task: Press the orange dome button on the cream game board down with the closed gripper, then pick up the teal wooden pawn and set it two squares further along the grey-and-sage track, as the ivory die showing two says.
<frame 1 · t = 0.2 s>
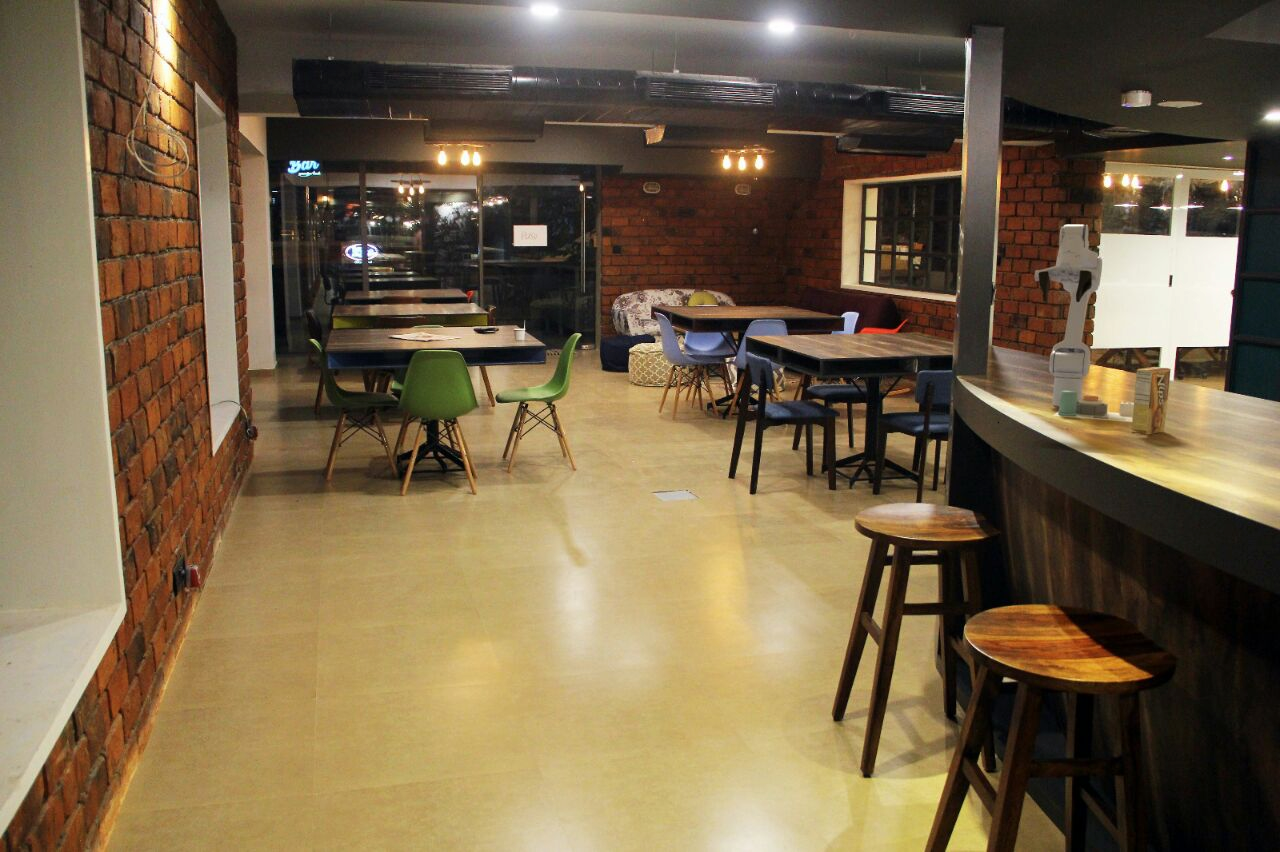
hand: (1060, 299, 266), 31 cm above the countertop, tool tilted 45°, fingers open, 7 cm apart
dome button: (1090, 400, 279), point 4 cm above the countertop, slide at 0.0 cm
candy box: (1148, 433, 257), on the countertop
game board: (1102, 419, 276), on the countertop
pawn: (1067, 414, 277), point 1 cm above the countertop, touching game board
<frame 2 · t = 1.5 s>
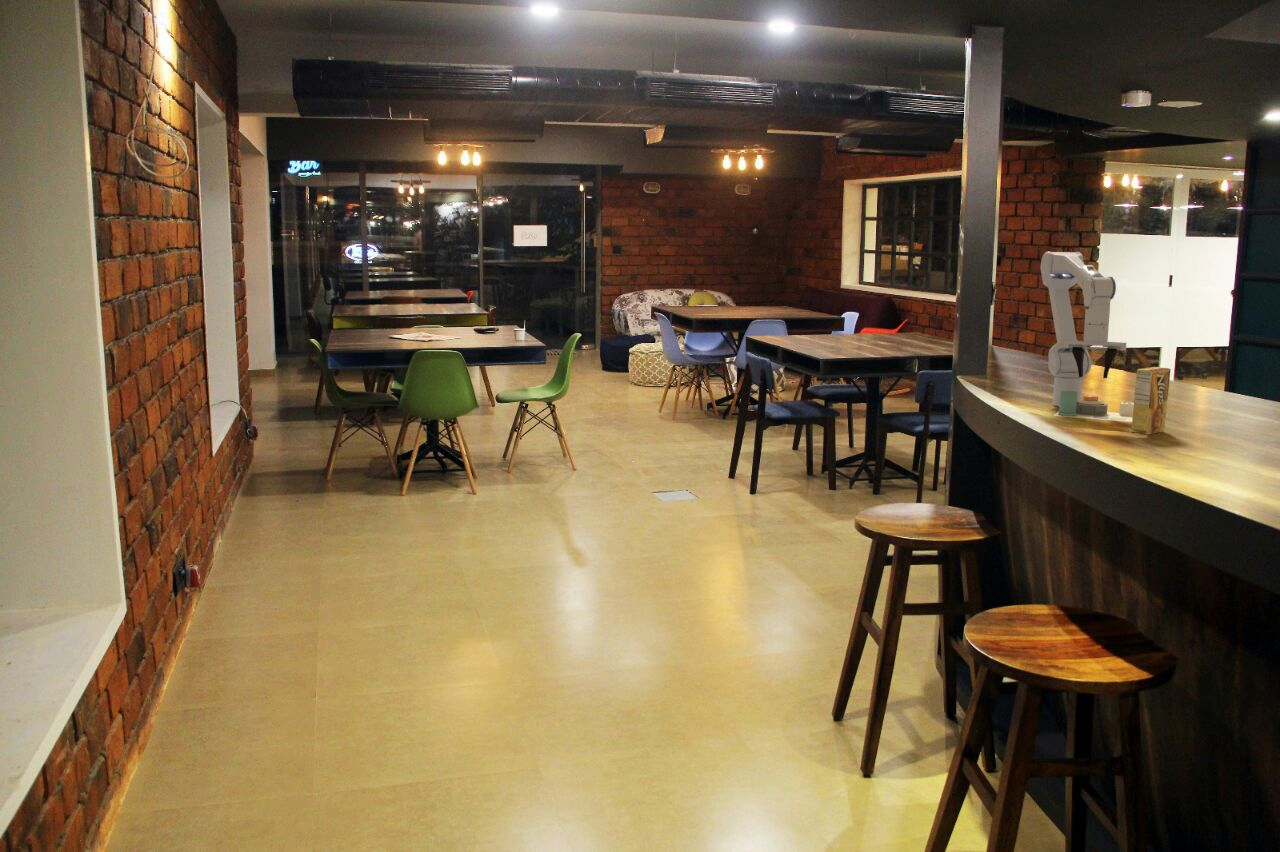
hand: (1092, 377, 278), 10 cm above the countertop, tool pointing down, fingers open, 5 cm apart
nothing on the countertop moved.
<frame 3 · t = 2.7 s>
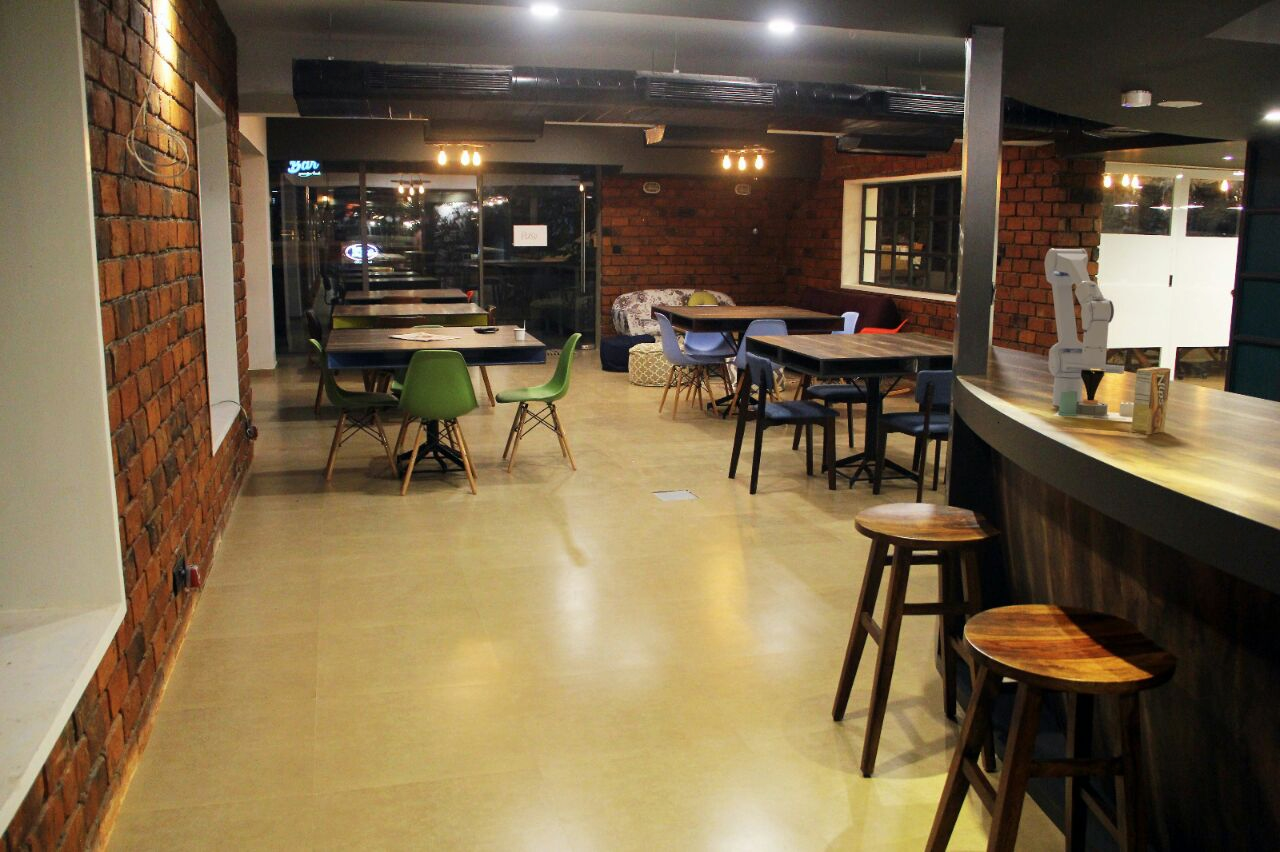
hand: (1090, 400, 279), 4 cm above the countertop, tool pointing down, fingers closed, pressing on dome button
dome button: (1090, 404, 280), point 3 cm above the countertop, slide at -0.9 cm, touching gripper
everything else where it was.
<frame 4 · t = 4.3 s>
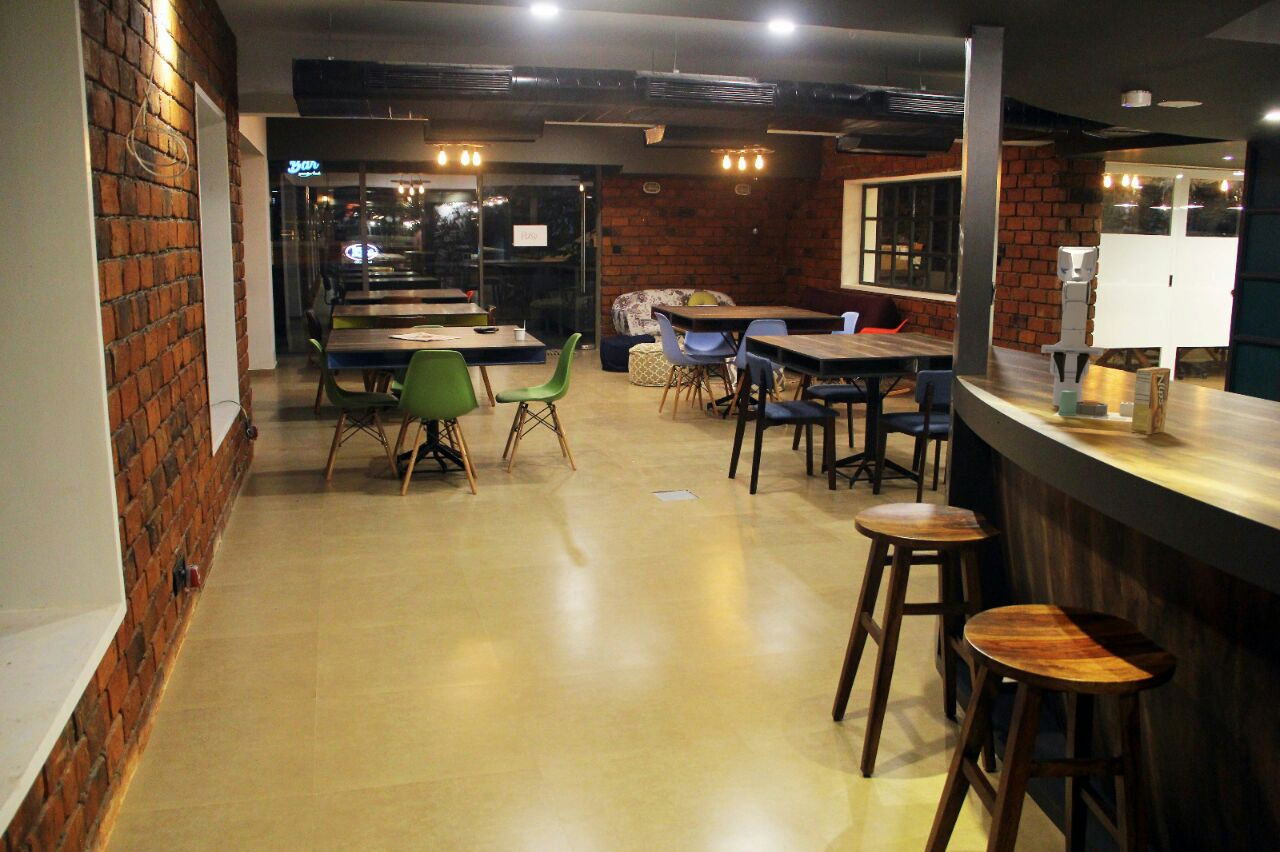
hand: (1069, 382, 275), 9 cm above the countertop, tool pointing down, fingers open, 3 cm apart
dome button: (1090, 405, 280), point 3 cm above the countertop, slide at -1.2 cm
everything else where it was.
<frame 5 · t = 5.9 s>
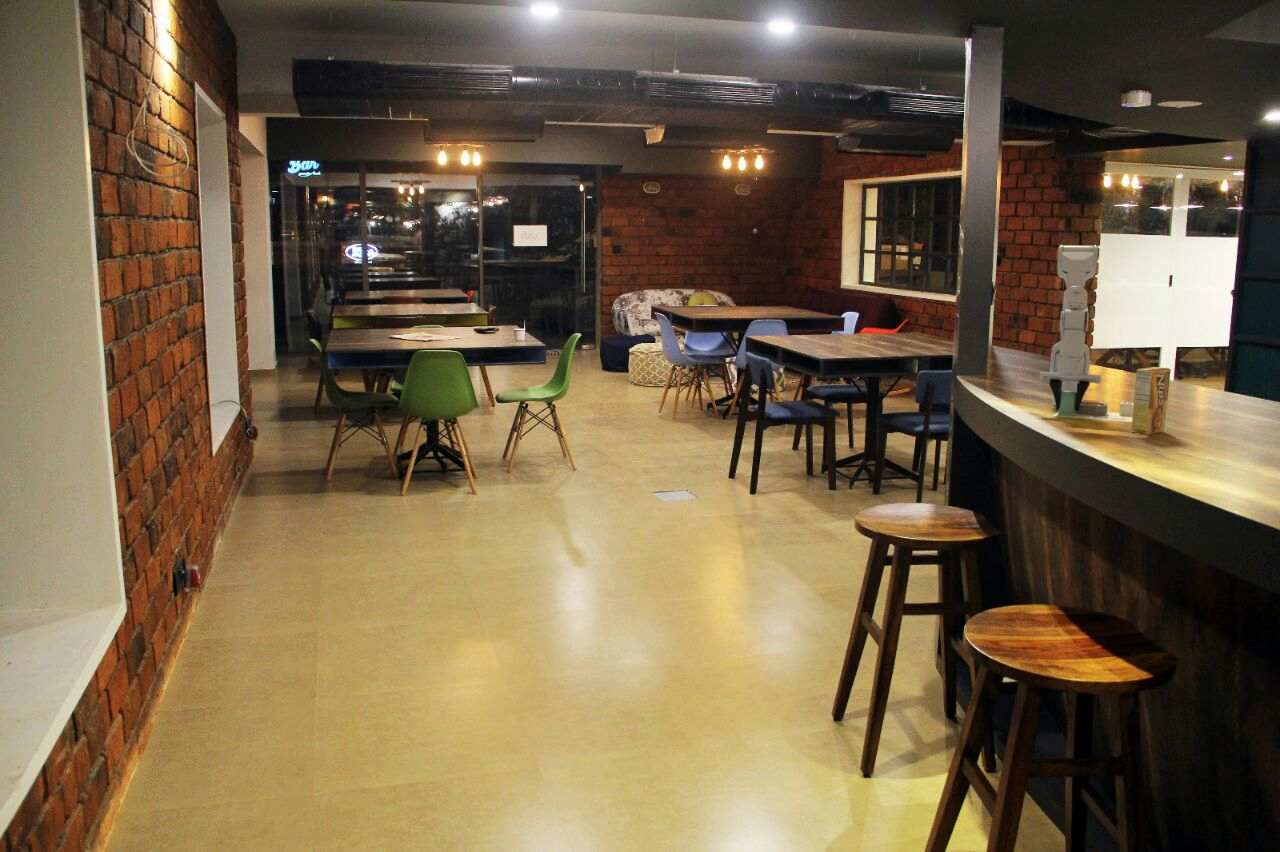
hand: (1067, 409, 276), 2 cm above the countertop, tool pointing down, fingers closed on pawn, 4 cm apart
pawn: (1067, 414, 277), point 1 cm above the countertop, touching game board, gripper
everything else where it was.
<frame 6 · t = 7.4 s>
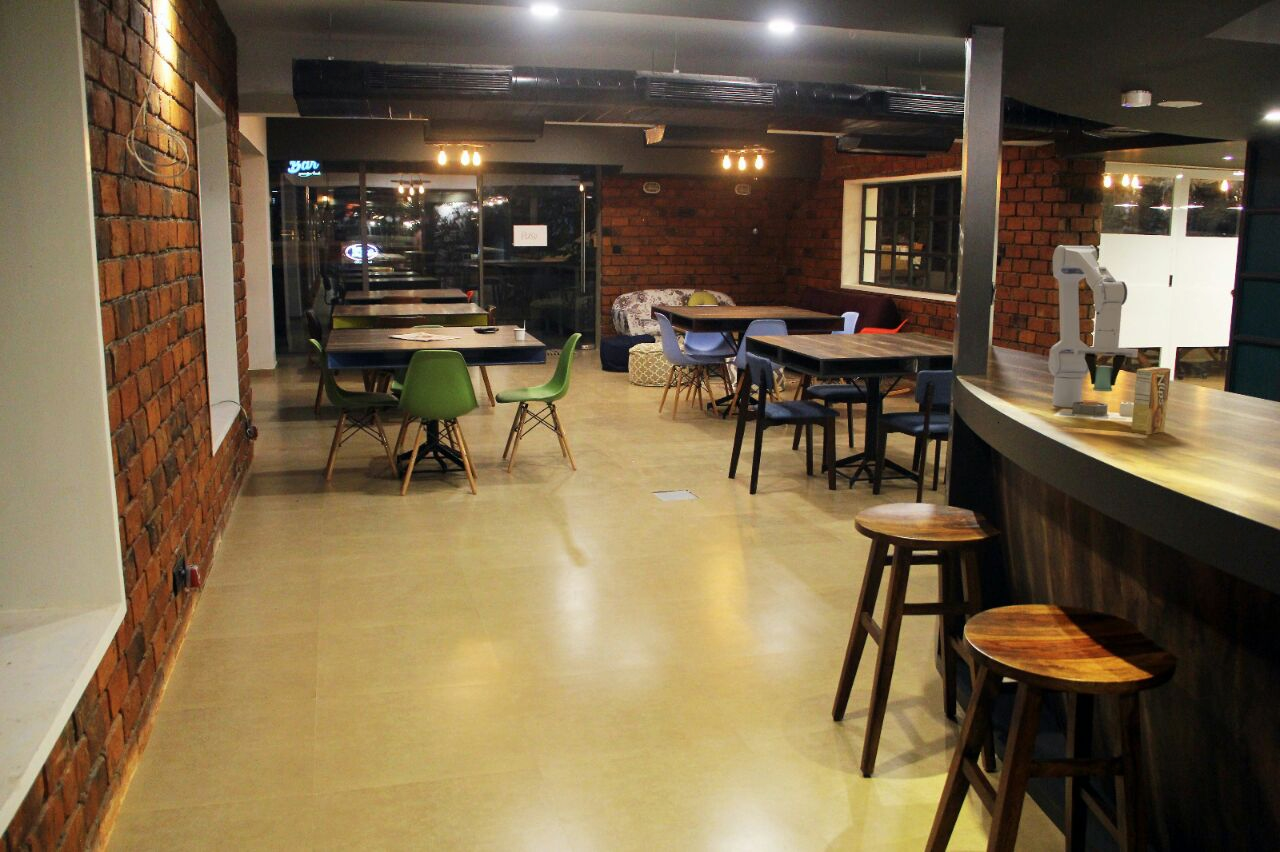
hand: (1103, 384, 271), 9 cm above the countertop, tool pointing down, fingers closed on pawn, 4 cm apart
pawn: (1102, 390, 272), point 8 cm above the countertop, touching gripper
everything else where it was.
when the fingers open (3 cm above the countertop, at t = 8.9 s): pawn stays where it is, resting on game board.
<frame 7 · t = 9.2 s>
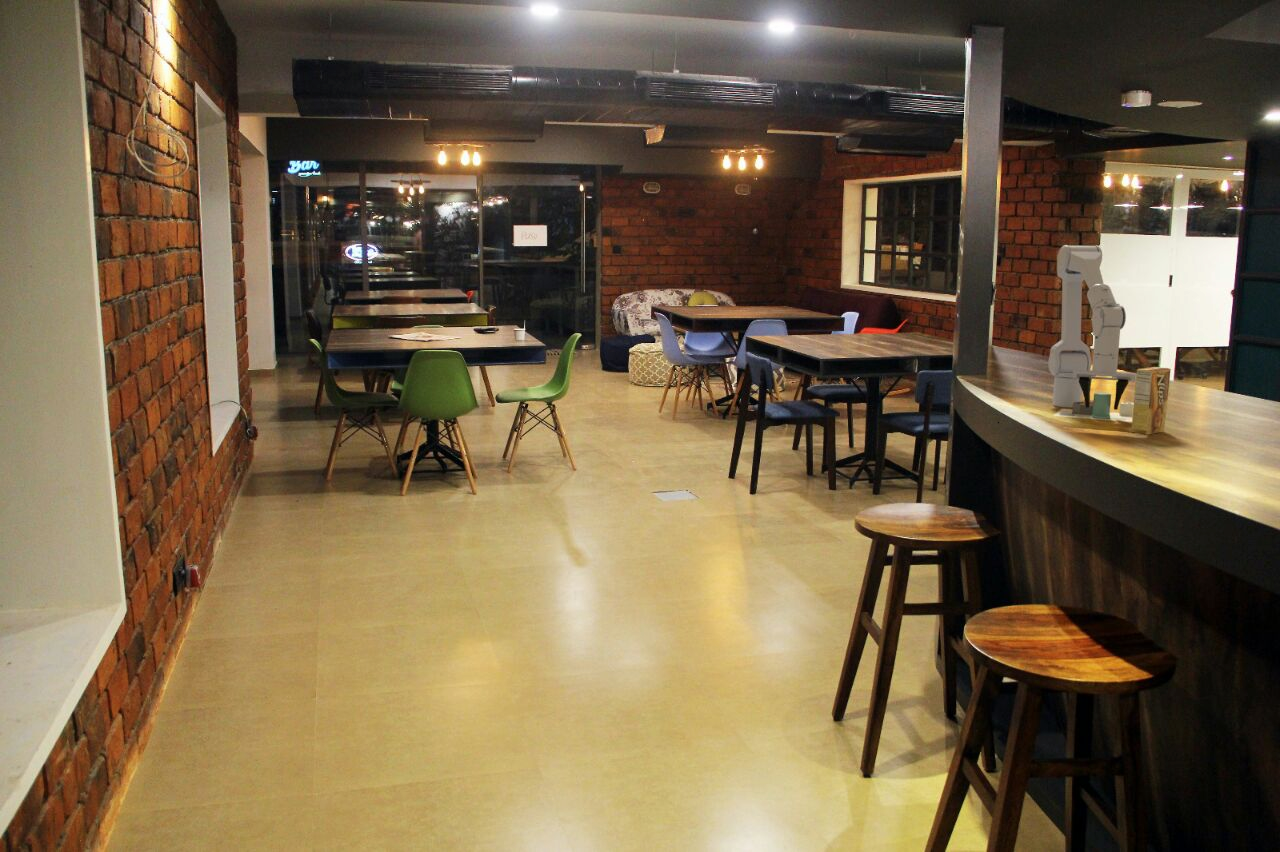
hand: (1101, 408, 272), 3 cm above the countertop, tool pointing down, fingers open, 6 cm apart
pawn: (1100, 417, 273), point 1 cm above the countertop, touching game board
everything else where it was.
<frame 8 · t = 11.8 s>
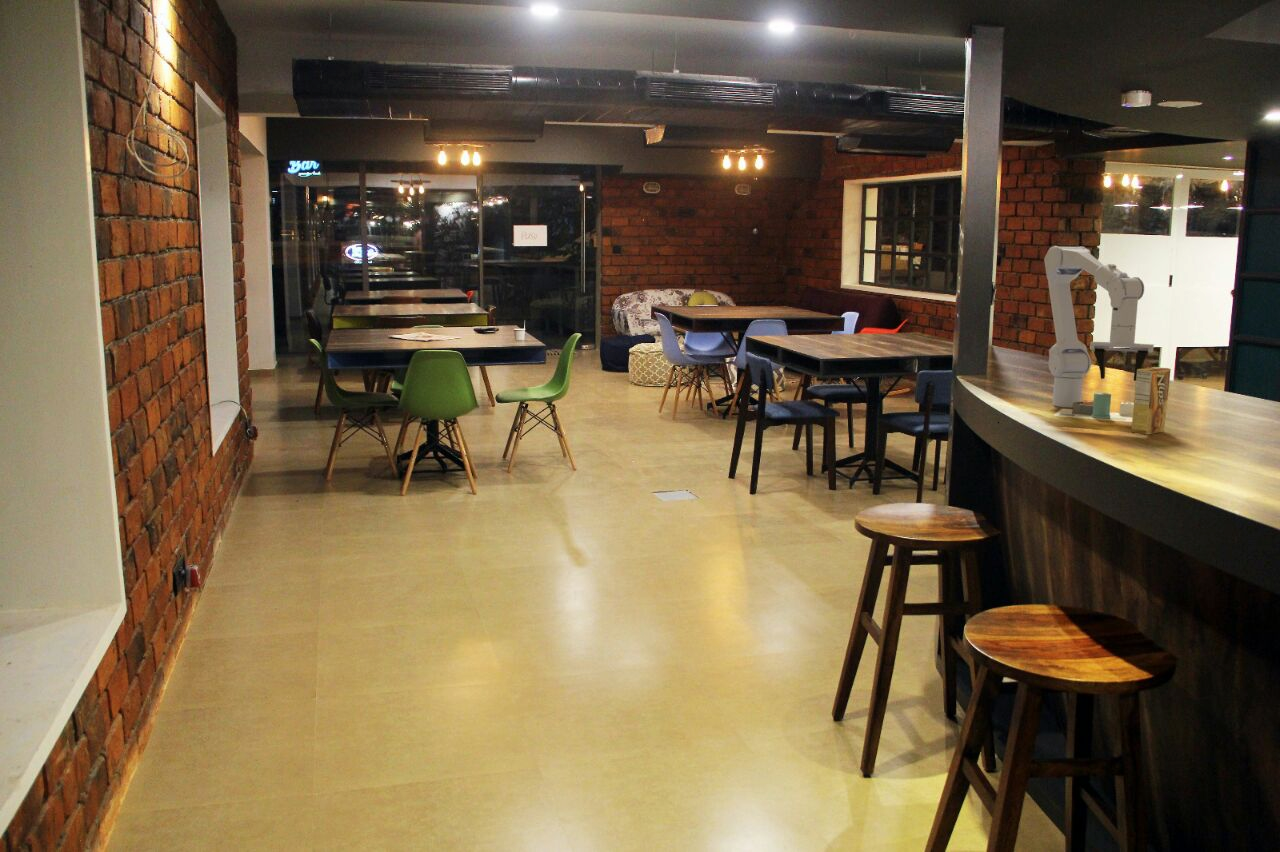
hand: (1118, 379, 274), 10 cm above the countertop, tool pointing down, fingers open, 7 cm apart
nothing on the countertop moved.
at the end: dome button slide at -1.2 cm; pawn 0.1 cm from the target spot, point 1.0 cm above the countertop; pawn tilted 0° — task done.
